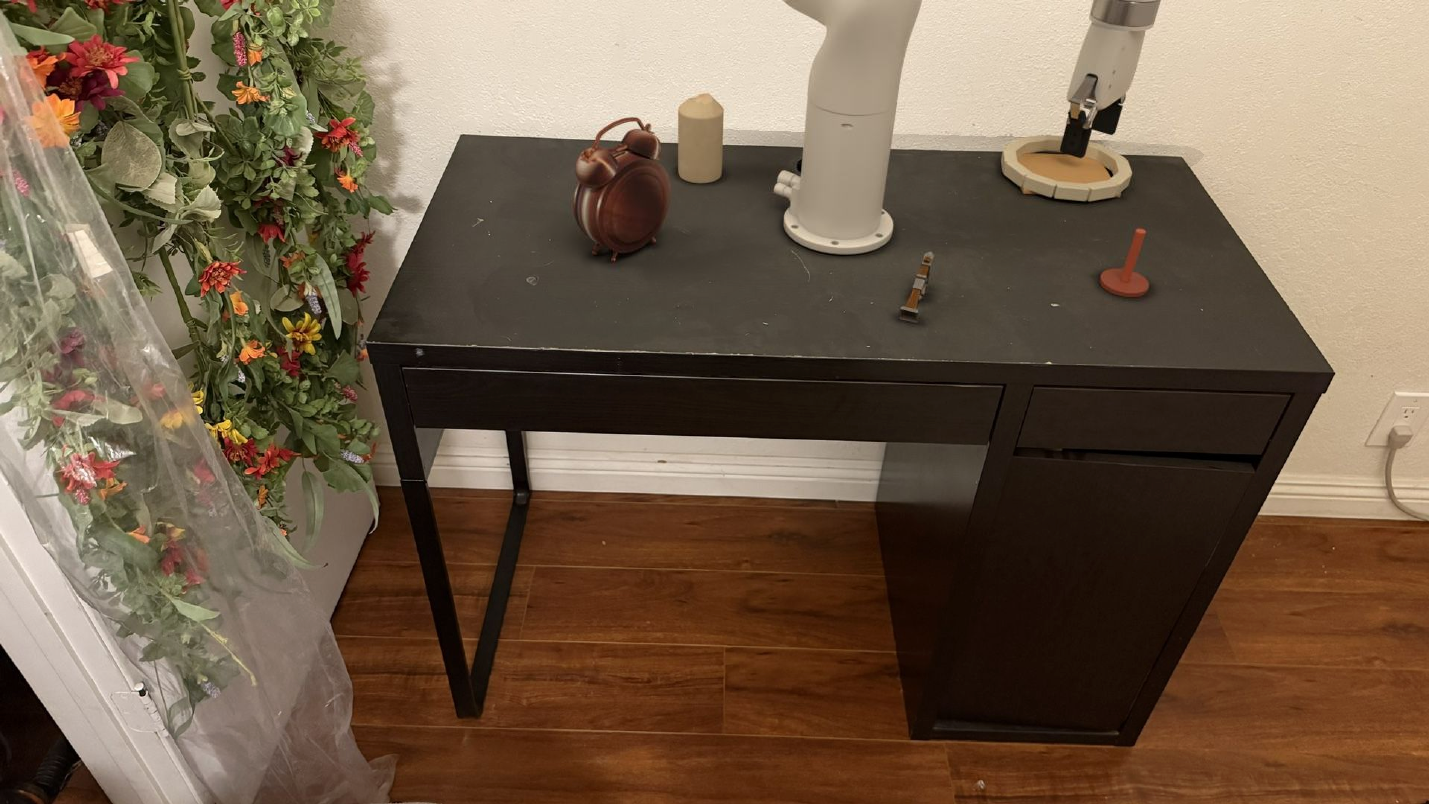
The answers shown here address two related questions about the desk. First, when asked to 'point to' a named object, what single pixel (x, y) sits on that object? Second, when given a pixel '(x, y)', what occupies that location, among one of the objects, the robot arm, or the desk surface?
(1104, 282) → the post
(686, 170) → the candle
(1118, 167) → the ring
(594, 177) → the alarm clock
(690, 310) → the desk surface
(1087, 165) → the mat
